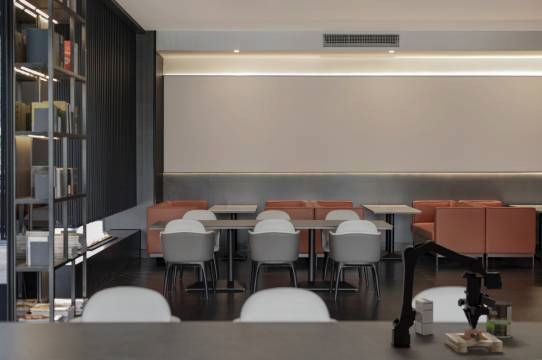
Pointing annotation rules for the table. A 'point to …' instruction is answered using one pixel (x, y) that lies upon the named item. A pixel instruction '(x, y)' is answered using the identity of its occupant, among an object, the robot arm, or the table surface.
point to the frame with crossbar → (473, 342)
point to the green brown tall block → (499, 319)
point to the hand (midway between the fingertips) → (473, 328)
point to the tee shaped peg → (472, 331)
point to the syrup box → (424, 316)
